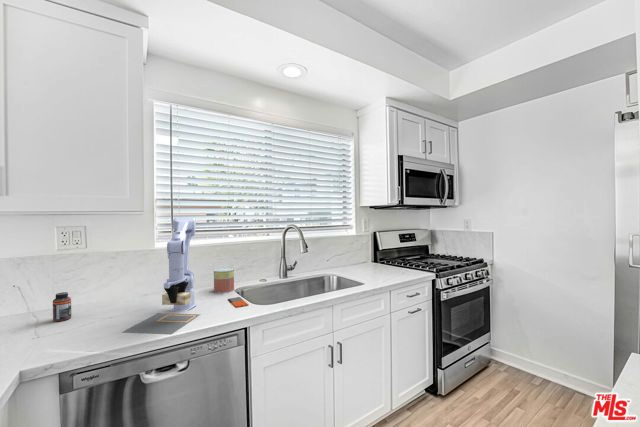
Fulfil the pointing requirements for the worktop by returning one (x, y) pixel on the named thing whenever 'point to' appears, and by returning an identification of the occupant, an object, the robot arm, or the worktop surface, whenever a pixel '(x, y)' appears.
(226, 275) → the canned food
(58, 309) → the supplement bottle
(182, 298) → the cream block
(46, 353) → the worktop surface
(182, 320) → the rubber mat
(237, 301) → the phone
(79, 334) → the worktop surface
